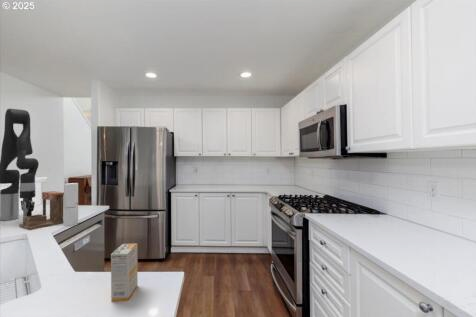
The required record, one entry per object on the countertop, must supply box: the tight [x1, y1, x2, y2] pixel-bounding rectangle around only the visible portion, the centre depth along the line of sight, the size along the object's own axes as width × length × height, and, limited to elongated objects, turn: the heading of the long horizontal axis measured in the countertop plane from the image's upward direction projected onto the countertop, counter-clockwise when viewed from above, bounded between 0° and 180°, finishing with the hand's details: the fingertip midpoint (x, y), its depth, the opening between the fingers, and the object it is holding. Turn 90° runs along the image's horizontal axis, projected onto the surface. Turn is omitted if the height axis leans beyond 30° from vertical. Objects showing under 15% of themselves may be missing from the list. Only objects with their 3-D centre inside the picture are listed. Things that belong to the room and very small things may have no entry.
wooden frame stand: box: [18, 190, 64, 231], centre depth 147 cm, size 15×18×19 cm
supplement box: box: [110, 243, 139, 302], centre depth 70 cm, size 8×5×13 cm, turn 5°
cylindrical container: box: [63, 182, 79, 227], centre depth 148 cm, size 7×7×25 cm
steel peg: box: [22, 204, 28, 218], centre depth 151 cm, size 4×4×12 cm
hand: (27, 217), depth 151 cm, fingers closed on steel peg, 4 cm apart
